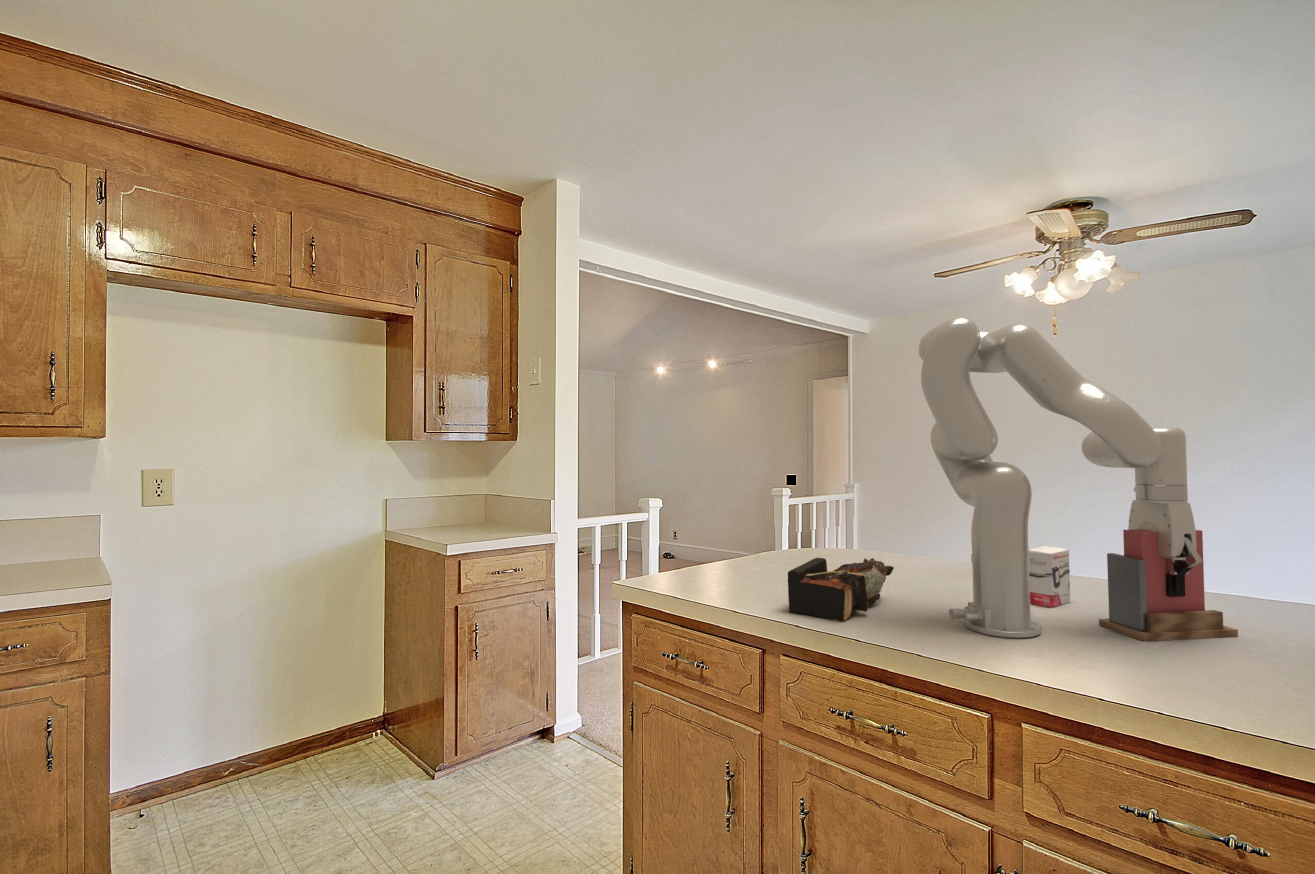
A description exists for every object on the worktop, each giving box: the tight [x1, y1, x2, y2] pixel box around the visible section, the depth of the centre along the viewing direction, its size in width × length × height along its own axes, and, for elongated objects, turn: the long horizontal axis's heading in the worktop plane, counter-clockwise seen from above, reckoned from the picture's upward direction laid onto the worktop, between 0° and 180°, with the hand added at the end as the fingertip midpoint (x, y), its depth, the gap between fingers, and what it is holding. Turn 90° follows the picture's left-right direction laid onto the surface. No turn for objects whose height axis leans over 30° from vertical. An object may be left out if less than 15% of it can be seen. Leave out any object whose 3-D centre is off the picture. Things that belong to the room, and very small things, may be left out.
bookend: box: [787, 557, 895, 623], centre depth 138 cm, size 15×11×25 cm
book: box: [1122, 529, 1206, 613], centre depth 115 cm, size 12×4×16 cm, turn 95°
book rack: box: [1098, 609, 1239, 642], centre depth 115 cm, size 18×10×4 cm, turn 95°
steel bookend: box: [1106, 552, 1147, 632], centre depth 115 cm, size 1×7×14 cm, turn 5°
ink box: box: [1029, 545, 1071, 609], centre depth 137 cm, size 8×5×12 cm, turn 123°
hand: (1164, 592), depth 115 cm, fingers closed on book, 4 cm apart
